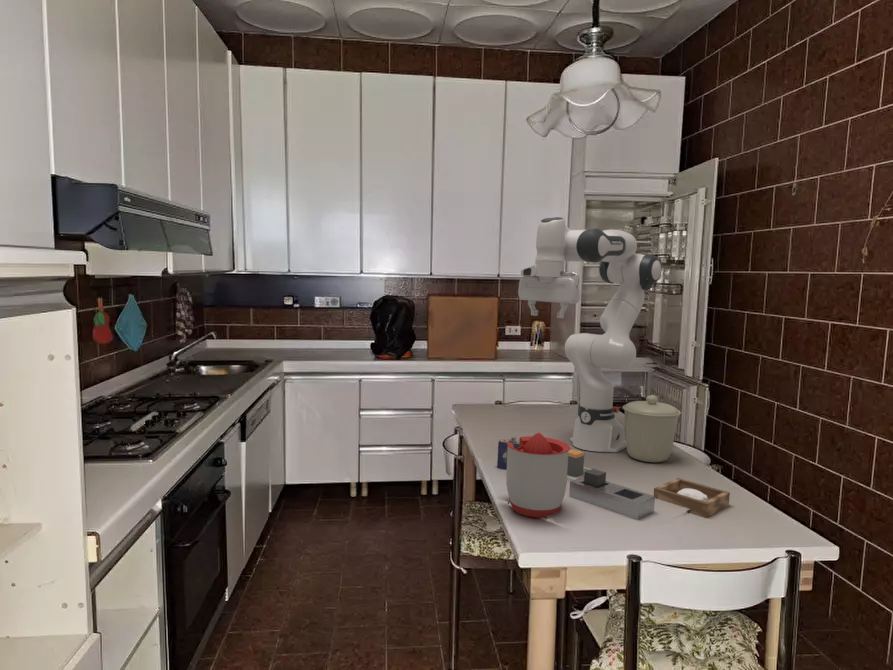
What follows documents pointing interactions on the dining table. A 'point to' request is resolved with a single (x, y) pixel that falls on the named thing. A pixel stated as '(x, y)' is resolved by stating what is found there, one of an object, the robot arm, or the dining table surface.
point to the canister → (650, 429)
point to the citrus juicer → (536, 475)
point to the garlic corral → (698, 507)
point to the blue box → (504, 451)
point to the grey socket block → (614, 498)
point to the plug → (575, 463)
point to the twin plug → (595, 478)
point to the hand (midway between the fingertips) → (547, 316)
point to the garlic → (693, 494)
